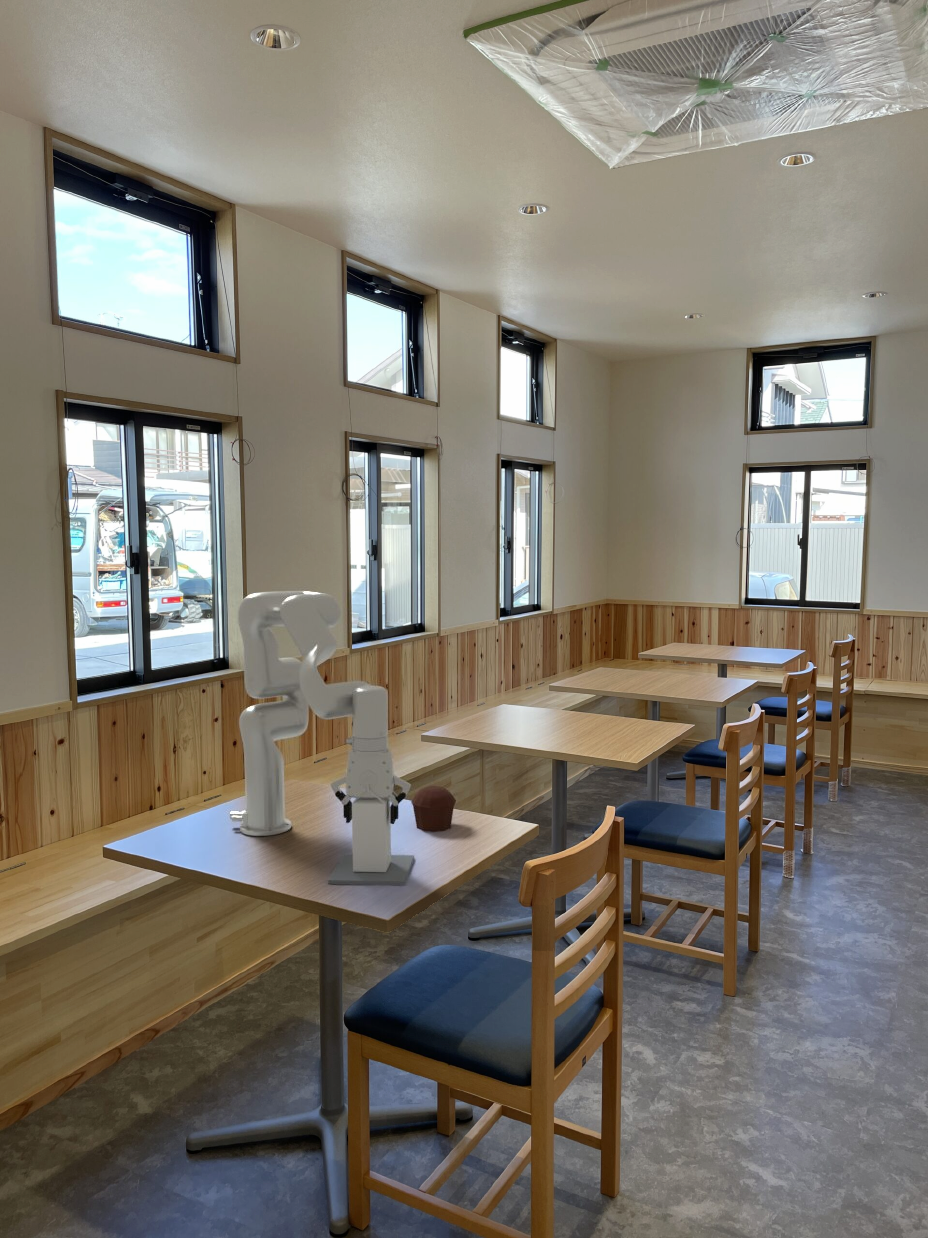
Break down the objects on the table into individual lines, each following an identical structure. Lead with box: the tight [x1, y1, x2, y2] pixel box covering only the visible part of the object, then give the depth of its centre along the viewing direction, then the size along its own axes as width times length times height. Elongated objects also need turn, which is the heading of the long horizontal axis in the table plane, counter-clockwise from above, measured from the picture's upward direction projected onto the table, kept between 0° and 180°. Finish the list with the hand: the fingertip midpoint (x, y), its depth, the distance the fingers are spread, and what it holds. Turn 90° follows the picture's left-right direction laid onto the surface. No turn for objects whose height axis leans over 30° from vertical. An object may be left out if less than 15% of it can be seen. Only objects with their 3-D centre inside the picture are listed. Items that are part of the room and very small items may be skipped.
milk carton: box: [351, 784, 392, 872], centre depth 191 cm, size 7×7×19 cm
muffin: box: [410, 785, 457, 833], centre depth 223 cm, size 12×11×10 cm
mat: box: [327, 853, 415, 886], centre depth 192 cm, size 16×16×1 cm
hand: (371, 821), depth 192 cm, fingers open, 9 cm apart
